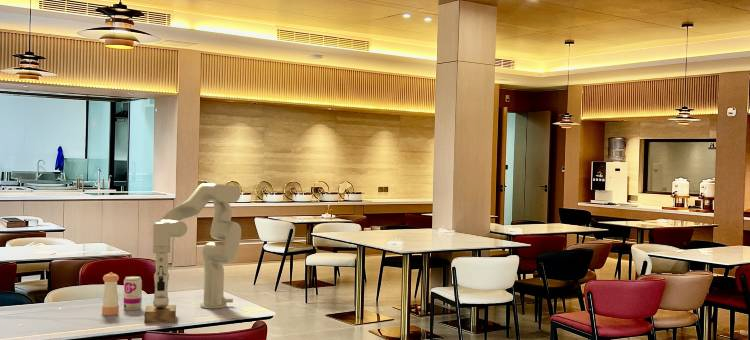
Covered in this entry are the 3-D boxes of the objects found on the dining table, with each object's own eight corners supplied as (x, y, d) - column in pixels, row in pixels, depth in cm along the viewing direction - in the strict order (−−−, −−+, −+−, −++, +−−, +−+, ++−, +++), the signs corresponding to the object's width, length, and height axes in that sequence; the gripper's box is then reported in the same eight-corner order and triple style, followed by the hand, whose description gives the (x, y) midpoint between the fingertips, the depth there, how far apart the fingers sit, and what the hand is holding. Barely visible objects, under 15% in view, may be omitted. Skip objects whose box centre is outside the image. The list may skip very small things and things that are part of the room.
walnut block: (175, 315, 345) (175, 305, 345) (175, 322, 332) (175, 310, 332) (146, 316, 342) (146, 305, 342) (144, 323, 329) (144, 311, 329)
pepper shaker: (122, 312, 349) (122, 271, 349) (111, 315, 342) (112, 274, 342) (109, 311, 352) (109, 270, 351) (98, 314, 345) (99, 272, 344)
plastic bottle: (154, 306, 340) (155, 262, 339) (170, 306, 340) (170, 262, 340) (151, 309, 333) (152, 264, 333) (167, 309, 334) (167, 264, 333)
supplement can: (135, 310, 354) (136, 279, 354) (120, 309, 356) (120, 278, 355) (144, 307, 362) (145, 276, 362) (129, 306, 364) (129, 275, 363)
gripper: (169, 251, 329) (169, 292, 329) (170, 247, 346) (170, 285, 346) (151, 252, 327) (151, 293, 328) (153, 247, 344) (153, 286, 344)
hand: (161, 289), depth 337 cm, fingers closed on plastic bottle, 5 cm apart
